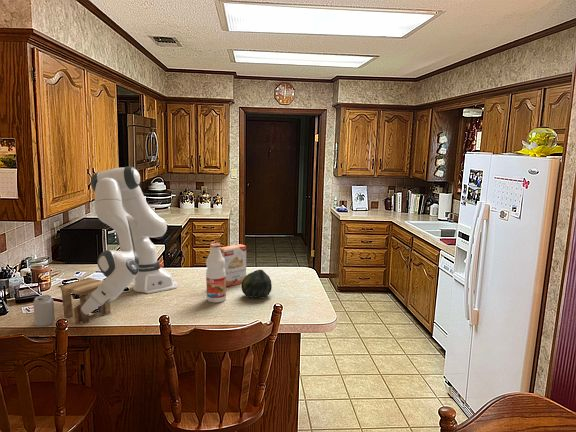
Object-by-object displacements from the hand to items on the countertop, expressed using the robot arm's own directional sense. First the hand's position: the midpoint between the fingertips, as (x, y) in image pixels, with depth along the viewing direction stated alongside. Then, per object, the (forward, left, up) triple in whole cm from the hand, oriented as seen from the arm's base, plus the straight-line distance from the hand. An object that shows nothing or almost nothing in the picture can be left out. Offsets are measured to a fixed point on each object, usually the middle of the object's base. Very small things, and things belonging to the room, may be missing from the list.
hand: (89, 310), depth 187 cm
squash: (-77, -4, -6) cm, 77 cm away
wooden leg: (-1, -3, -5) cm, 6 cm away
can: (+18, -6, -6) cm, 20 cm away
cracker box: (-71, -27, -6) cm, 76 cm away
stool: (+1, -9, -5) cm, 10 cm away
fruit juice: (-57, -7, -6) cm, 57 cm away
